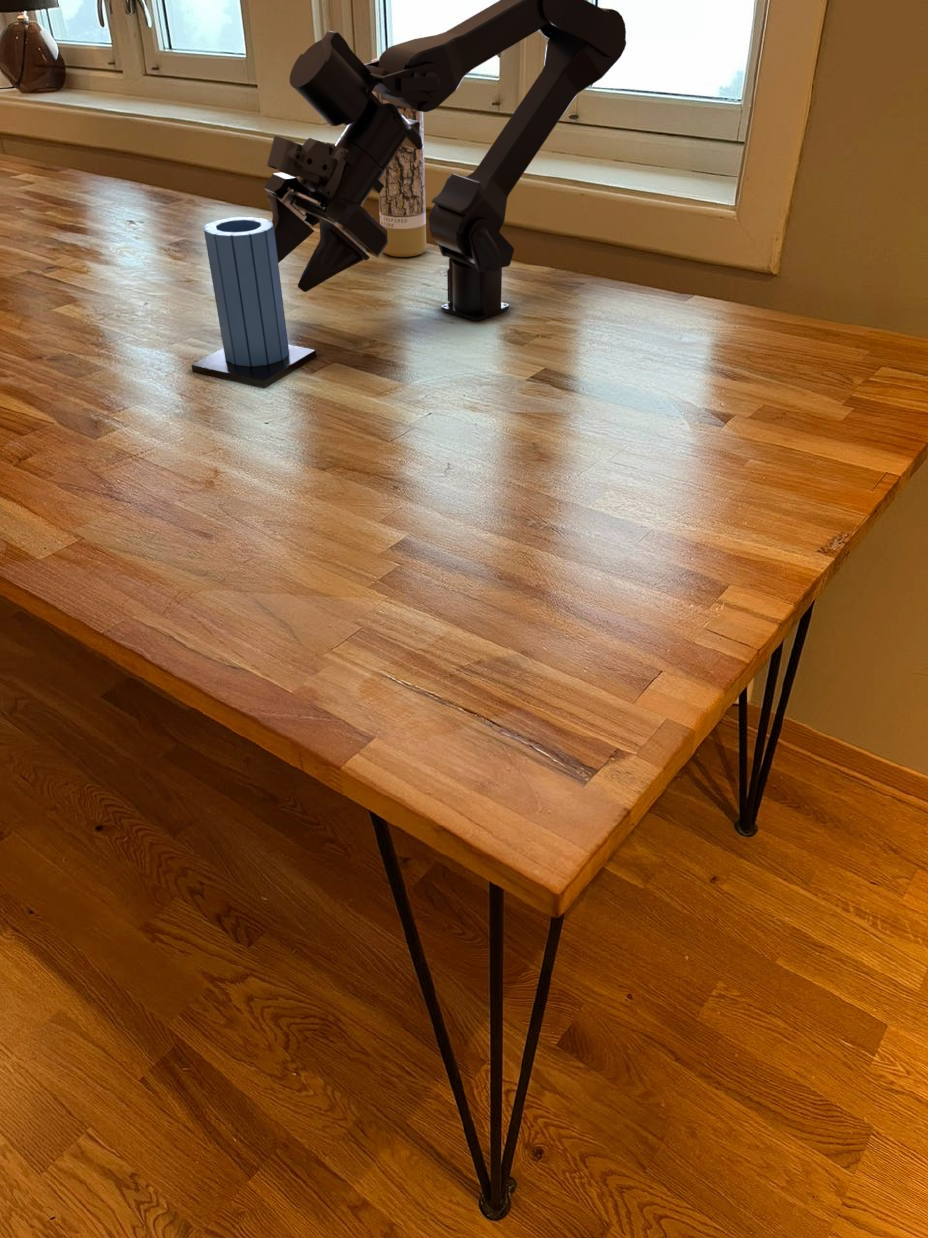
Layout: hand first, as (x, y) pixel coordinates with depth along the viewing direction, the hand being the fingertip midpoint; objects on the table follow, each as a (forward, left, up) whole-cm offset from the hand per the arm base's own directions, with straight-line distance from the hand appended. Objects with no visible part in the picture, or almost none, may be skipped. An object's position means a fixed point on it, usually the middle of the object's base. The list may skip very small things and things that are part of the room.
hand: (282, 278), depth 103 cm
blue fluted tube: (+2, +4, -8) cm, 9 cm away
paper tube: (+19, -38, -9) cm, 43 cm away
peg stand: (+1, +4, -9) cm, 10 cm away
